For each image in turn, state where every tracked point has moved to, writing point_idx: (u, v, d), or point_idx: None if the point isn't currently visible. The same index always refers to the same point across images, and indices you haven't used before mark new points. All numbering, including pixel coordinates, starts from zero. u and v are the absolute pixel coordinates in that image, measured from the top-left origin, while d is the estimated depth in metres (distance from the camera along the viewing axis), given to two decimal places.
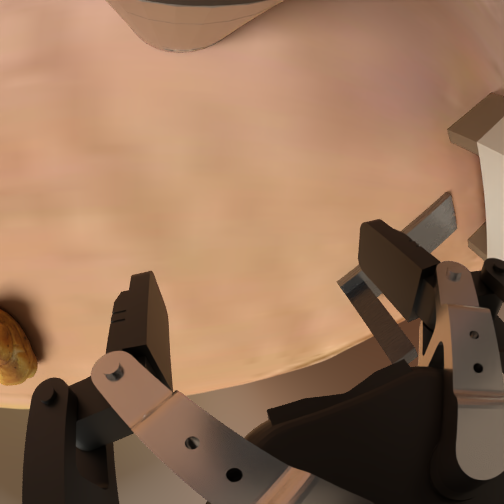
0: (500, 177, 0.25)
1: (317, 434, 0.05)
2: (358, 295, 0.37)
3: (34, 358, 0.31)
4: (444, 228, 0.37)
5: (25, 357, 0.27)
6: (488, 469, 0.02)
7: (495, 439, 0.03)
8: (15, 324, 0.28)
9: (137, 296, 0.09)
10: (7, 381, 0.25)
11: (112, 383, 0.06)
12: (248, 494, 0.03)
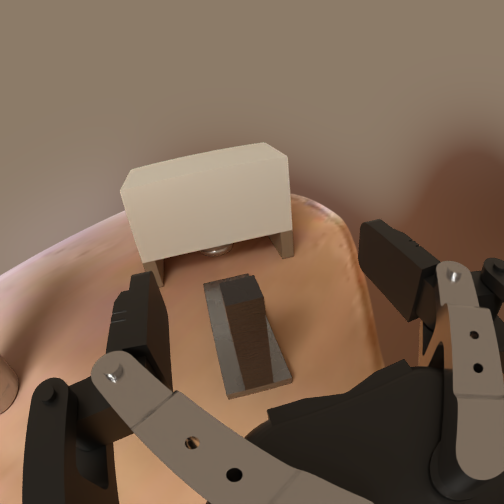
0: (158, 240, 0.44)
1: (317, 434, 0.05)
2: None
3: None
4: None
5: None
6: (488, 469, 0.02)
7: (495, 439, 0.03)
8: None
9: (137, 296, 0.09)
10: None
11: (112, 383, 0.06)
12: (248, 493, 0.03)
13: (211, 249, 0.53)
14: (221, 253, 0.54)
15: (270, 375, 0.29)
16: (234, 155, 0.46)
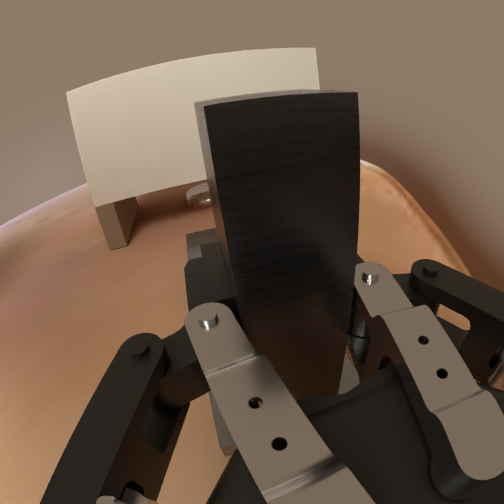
0: (118, 167, 0.26)
1: (317, 434, 0.05)
2: None
3: None
4: None
5: None
6: (488, 469, 0.02)
7: (495, 439, 0.03)
8: None
9: (212, 260, 0.10)
10: None
11: (212, 330, 0.07)
12: (283, 465, 0.04)
13: (202, 196, 0.36)
14: None
15: None
16: None
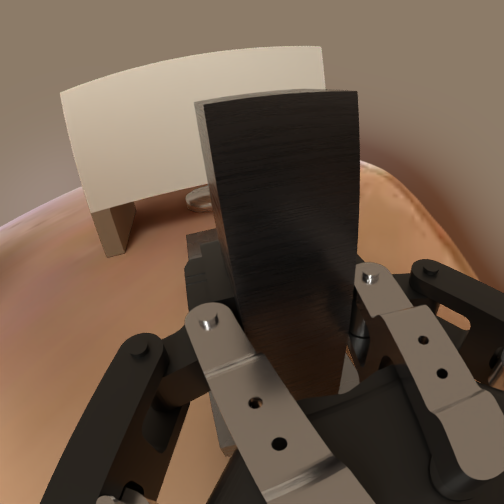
0: (115, 171, 0.25)
1: (317, 434, 0.05)
2: None
3: None
4: None
5: None
6: (488, 469, 0.02)
7: (495, 439, 0.03)
8: None
9: (212, 259, 0.10)
10: None
11: (212, 329, 0.07)
12: (283, 465, 0.04)
13: (203, 201, 0.34)
14: None
15: None
16: None
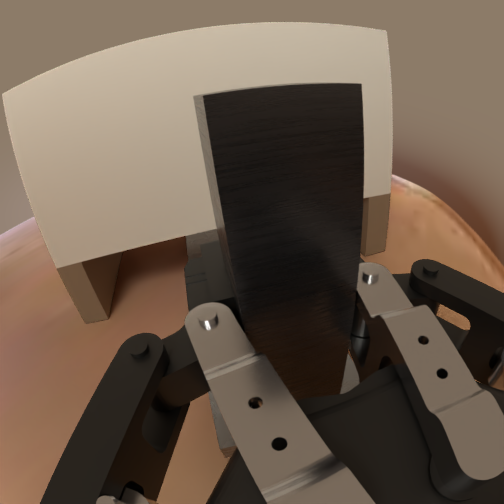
0: (84, 210, 0.16)
1: None
2: None
3: None
4: None
5: None
6: (488, 469, 0.02)
7: (495, 439, 0.03)
8: None
9: (212, 260, 0.10)
10: None
11: (212, 330, 0.07)
12: (283, 465, 0.04)
13: None
14: None
15: None
16: None
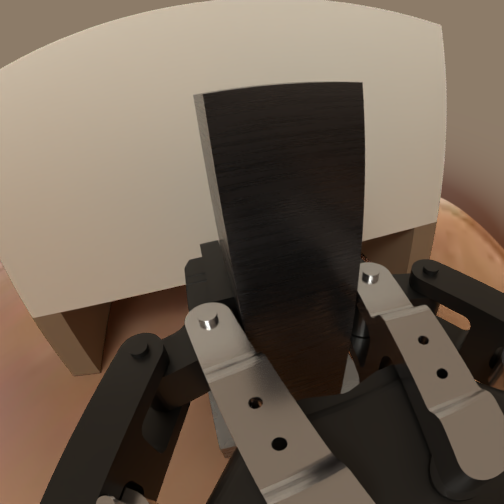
0: (58, 252, 0.12)
1: None
2: None
3: None
4: None
5: None
6: (488, 469, 0.02)
7: (495, 439, 0.03)
8: None
9: (212, 260, 0.10)
10: None
11: (212, 329, 0.07)
12: (283, 464, 0.04)
13: None
14: None
15: None
16: None
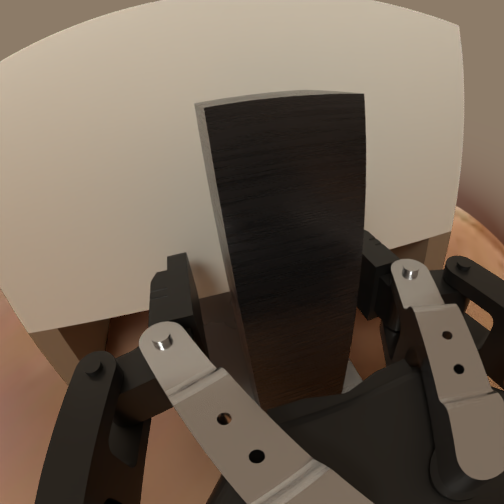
0: (52, 266, 0.11)
1: (317, 434, 0.05)
2: (257, 403, 0.11)
3: None
4: None
5: None
6: (488, 469, 0.02)
7: (495, 439, 0.03)
8: None
9: (176, 274, 0.09)
10: None
11: (163, 351, 0.06)
12: (265, 476, 0.03)
13: None
14: None
15: None
16: None
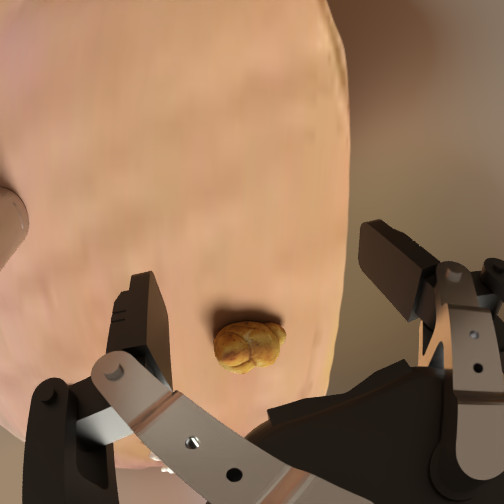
0: None
1: (317, 434, 0.05)
2: None
3: (270, 324, 0.50)
4: None
5: (256, 331, 0.47)
6: (488, 469, 0.02)
7: (495, 439, 0.03)
8: (233, 325, 0.49)
9: (137, 296, 0.09)
10: (267, 357, 0.47)
11: (112, 383, 0.06)
12: (248, 493, 0.03)
13: None
14: None
15: None
16: None
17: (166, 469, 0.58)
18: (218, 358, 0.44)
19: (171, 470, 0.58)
